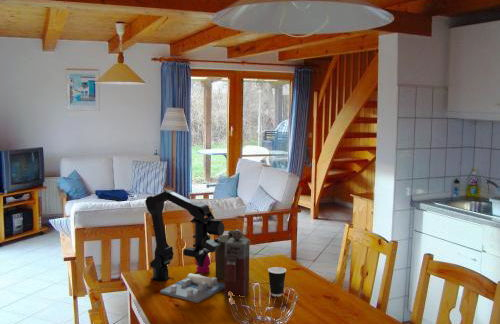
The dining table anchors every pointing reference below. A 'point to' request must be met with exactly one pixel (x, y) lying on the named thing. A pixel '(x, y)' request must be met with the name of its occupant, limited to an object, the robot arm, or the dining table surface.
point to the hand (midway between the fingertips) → (201, 267)
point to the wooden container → (222, 255)
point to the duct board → (195, 292)
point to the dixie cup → (276, 280)
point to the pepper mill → (204, 265)
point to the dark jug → (237, 265)
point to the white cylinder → (200, 279)
